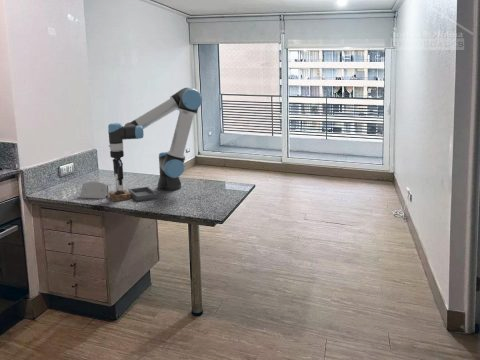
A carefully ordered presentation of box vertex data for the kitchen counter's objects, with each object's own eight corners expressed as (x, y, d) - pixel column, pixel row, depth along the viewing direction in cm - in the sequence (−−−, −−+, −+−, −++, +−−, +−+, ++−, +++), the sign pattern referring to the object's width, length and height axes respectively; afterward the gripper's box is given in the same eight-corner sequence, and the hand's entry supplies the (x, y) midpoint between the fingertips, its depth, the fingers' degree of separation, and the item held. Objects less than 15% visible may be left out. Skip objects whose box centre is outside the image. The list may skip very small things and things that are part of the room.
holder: (126, 194, 279) (125, 189, 278) (130, 198, 270) (130, 194, 269) (109, 197, 274) (109, 192, 273) (113, 201, 265) (113, 196, 265)
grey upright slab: (79, 197, 273) (80, 180, 274) (82, 197, 278) (83, 181, 279) (106, 198, 271) (107, 181, 272) (109, 198, 276) (110, 182, 277)
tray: (147, 191, 286) (147, 186, 285) (157, 198, 271) (157, 193, 270) (128, 193, 280) (128, 189, 280) (137, 201, 265) (137, 196, 264)
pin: (122, 195, 274) (121, 172, 271) (124, 196, 271) (122, 174, 268) (116, 196, 273) (114, 173, 269) (117, 197, 269) (115, 174, 266)
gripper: (106, 148, 270) (109, 186, 276) (113, 153, 256) (117, 193, 262) (119, 147, 274) (122, 185, 280) (127, 151, 259) (130, 191, 265)
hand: (119, 189), depth 271 cm, fingers closed on pin, 4 cm apart
